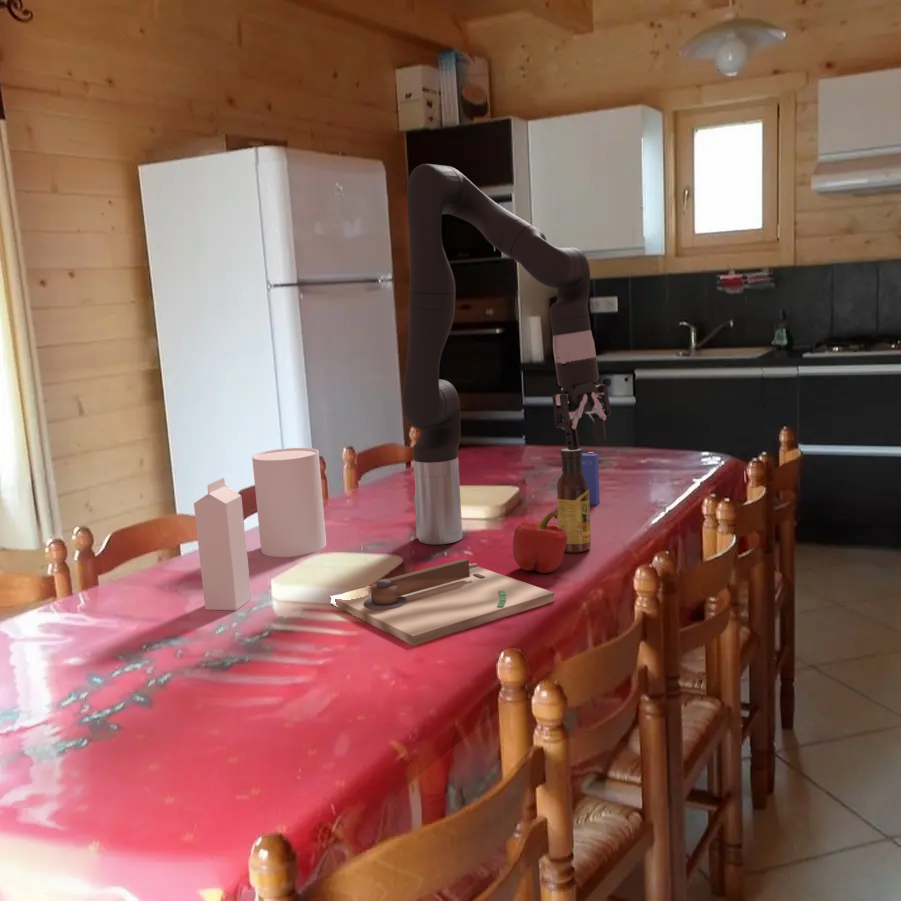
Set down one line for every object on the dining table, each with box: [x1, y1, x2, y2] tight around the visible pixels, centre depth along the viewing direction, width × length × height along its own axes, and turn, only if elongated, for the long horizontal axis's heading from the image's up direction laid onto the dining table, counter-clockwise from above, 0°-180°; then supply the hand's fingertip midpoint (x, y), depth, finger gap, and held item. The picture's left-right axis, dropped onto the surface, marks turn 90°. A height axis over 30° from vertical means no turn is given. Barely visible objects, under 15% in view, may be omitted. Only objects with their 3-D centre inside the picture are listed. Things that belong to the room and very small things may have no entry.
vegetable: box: [512, 511, 567, 574], centre depth 178 cm, size 11×10×10 cm
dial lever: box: [370, 558, 478, 604], centre depth 165 cm, size 4×21×3 cm, turn 125°
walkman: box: [581, 451, 601, 506], centre depth 226 cm, size 8×3×12 cm, turn 63°
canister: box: [251, 447, 327, 558], centre depth 202 cm, size 14×14×20 cm
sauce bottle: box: [556, 447, 592, 554], centre depth 189 cm, size 6×6×20 cm
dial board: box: [335, 563, 555, 646], centre depth 164 cm, size 26×28×2 cm
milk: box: [193, 477, 252, 611], centre depth 168 cm, size 6×6×22 cm
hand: (587, 445), depth 179 cm, fingers open, 8 cm apart
